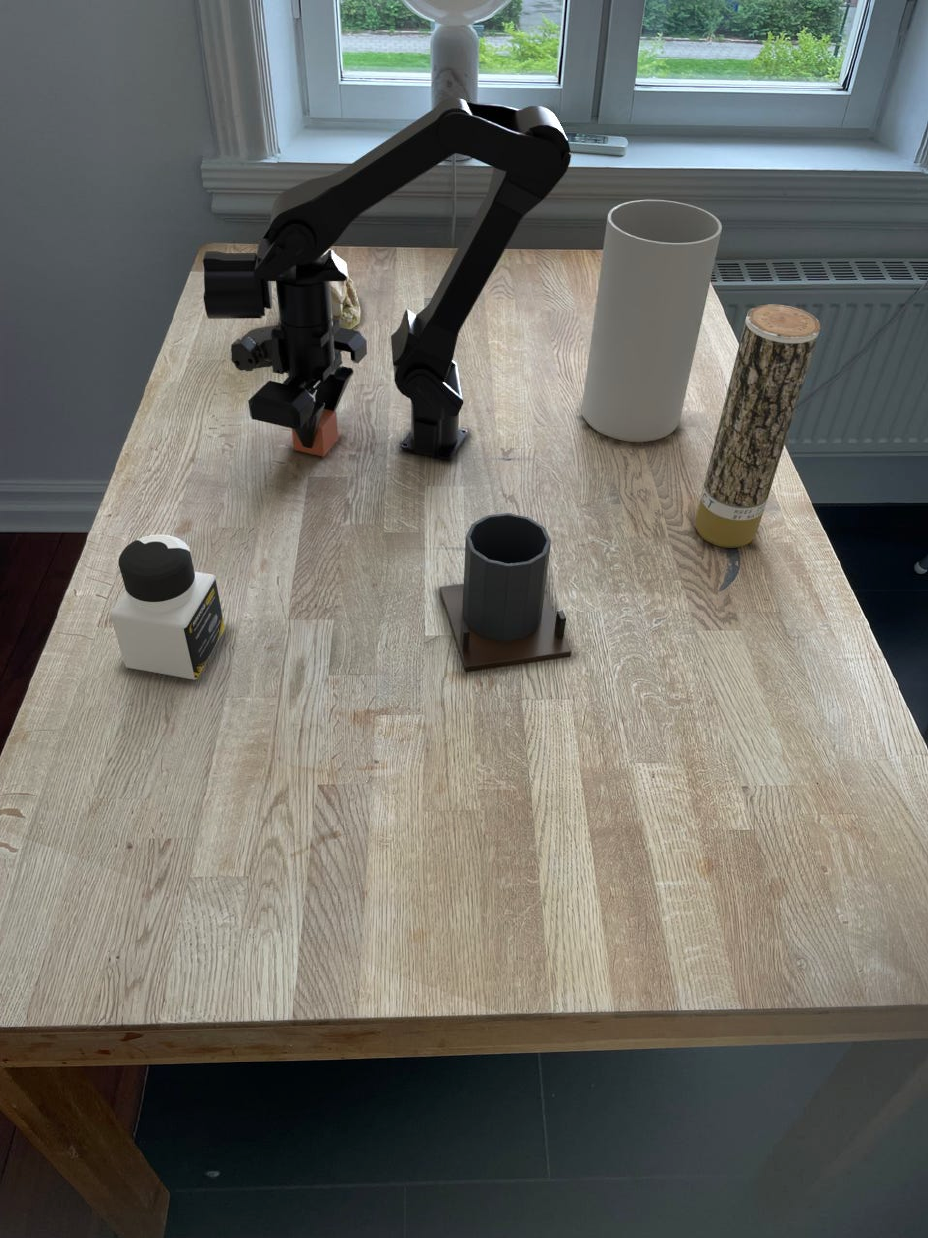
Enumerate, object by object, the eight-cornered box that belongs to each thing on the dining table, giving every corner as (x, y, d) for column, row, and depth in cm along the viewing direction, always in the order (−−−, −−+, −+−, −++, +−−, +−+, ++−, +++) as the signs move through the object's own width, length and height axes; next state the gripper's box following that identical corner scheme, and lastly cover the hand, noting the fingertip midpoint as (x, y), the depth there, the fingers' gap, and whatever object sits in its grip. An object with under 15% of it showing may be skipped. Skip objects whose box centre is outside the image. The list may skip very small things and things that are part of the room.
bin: (455, 593, 98) (458, 518, 91) (528, 583, 99) (536, 509, 93) (473, 646, 92) (478, 570, 86) (550, 635, 94) (560, 559, 87)
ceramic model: (357, 338, 137) (354, 269, 130) (277, 335, 137) (270, 266, 130) (365, 293, 147) (363, 227, 140) (291, 290, 147) (285, 224, 140)
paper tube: (758, 520, 109) (823, 312, 92) (751, 557, 105) (818, 344, 88) (698, 507, 111) (751, 299, 94) (688, 542, 106) (742, 329, 89)
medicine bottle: (197, 682, 89) (175, 584, 81) (124, 668, 90) (94, 570, 81) (226, 629, 94) (208, 531, 86) (157, 617, 95) (132, 519, 86)
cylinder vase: (568, 430, 122) (593, 230, 104) (596, 384, 130) (624, 192, 113) (666, 454, 118) (709, 252, 101) (688, 405, 127) (731, 211, 110)
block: (308, 432, 119) (306, 404, 116) (338, 439, 118) (336, 411, 115) (293, 449, 116) (290, 420, 114) (324, 457, 115) (321, 428, 113)
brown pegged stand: (439, 592, 99) (439, 567, 96) (537, 579, 101) (540, 554, 98) (465, 672, 91) (466, 647, 89) (570, 657, 93) (574, 631, 90)
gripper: (279, 268, 114) (291, 386, 125) (195, 339, 101) (216, 464, 112) (366, 285, 112) (370, 404, 122) (291, 360, 99) (304, 485, 109)
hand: (315, 437), depth 117 cm, fingers closed on block, 4 cm apart
